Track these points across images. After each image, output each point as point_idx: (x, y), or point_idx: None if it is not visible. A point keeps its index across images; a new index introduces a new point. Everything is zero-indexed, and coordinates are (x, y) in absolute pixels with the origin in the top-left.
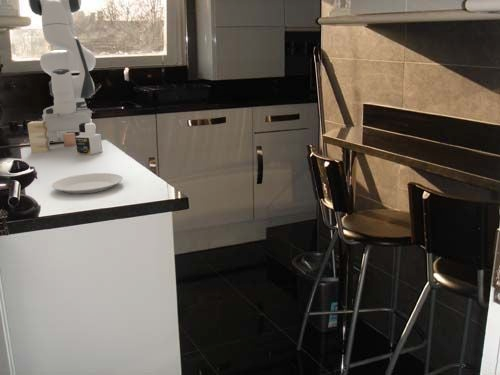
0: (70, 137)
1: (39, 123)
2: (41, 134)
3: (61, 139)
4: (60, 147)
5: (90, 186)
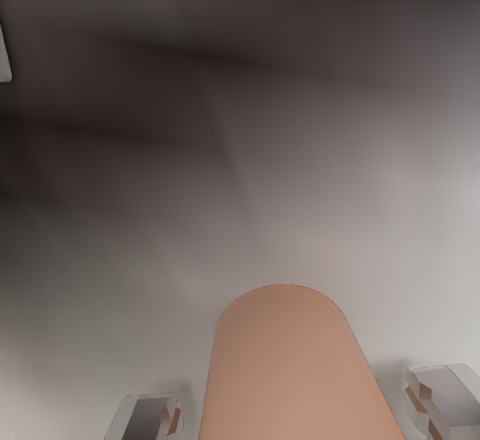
0: None
1: None
2: None
3: (168, 419)
4: None
5: None
